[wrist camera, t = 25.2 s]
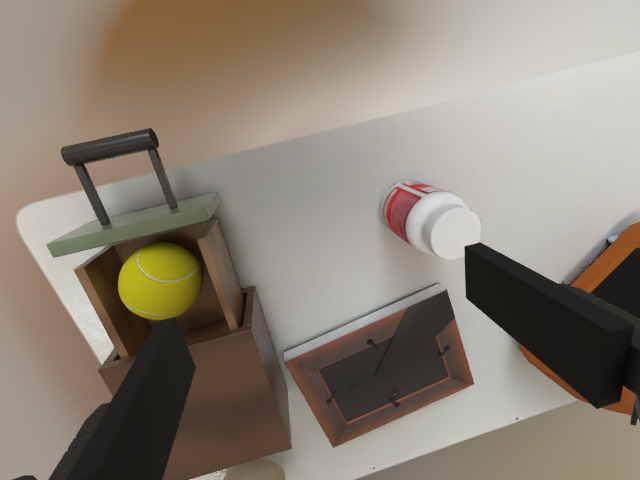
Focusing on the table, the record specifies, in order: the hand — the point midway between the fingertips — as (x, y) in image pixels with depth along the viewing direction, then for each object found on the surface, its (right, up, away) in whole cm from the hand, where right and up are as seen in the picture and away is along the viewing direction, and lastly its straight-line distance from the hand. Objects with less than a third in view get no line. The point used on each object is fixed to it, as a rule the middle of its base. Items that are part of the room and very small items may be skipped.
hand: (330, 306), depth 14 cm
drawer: (-16, +3, +19) cm, 25 cm away
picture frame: (+8, -14, +30) cm, 34 cm away
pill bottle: (+9, +7, +23) cm, 26 cm away
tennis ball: (-16, 0, +19) cm, 25 cm away
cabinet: (-13, -11, +25) cm, 31 cm away
